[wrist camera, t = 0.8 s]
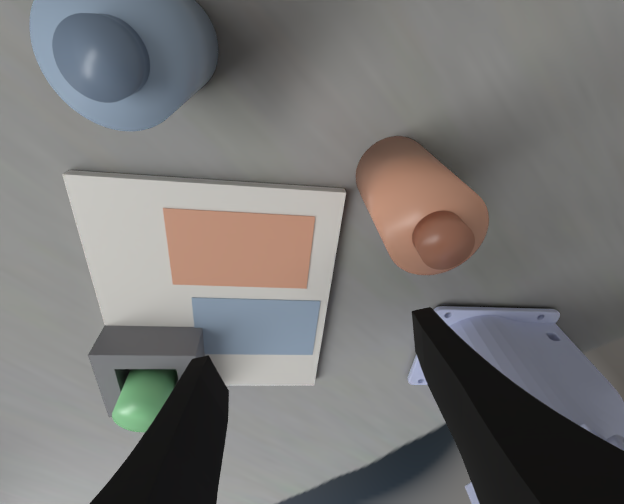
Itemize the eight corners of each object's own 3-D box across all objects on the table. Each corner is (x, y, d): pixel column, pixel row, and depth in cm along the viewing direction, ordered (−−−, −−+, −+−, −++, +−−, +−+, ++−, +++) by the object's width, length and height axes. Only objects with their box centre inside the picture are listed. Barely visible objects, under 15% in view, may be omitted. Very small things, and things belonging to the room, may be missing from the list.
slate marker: (216, -7, 14) (170, -29, 8) (220, 98, 17) (185, 145, 10) (112, -21, 14) (-23, -54, 8) (129, 89, 16) (34, 134, 10)
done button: (175, 359, 23) (163, 401, 20) (180, 389, 24) (169, 431, 22) (126, 359, 22) (107, 401, 20) (133, 389, 24) (117, 432, 22)
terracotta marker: (438, 139, 19) (520, 200, 12) (418, 209, 21) (479, 291, 14) (362, 133, 18) (408, 192, 12) (350, 205, 20) (383, 288, 14)
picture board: (344, 188, 20) (354, 213, 17) (313, 378, 28) (316, 414, 26) (68, 169, 18) (33, 194, 15) (124, 379, 26) (108, 417, 24)
